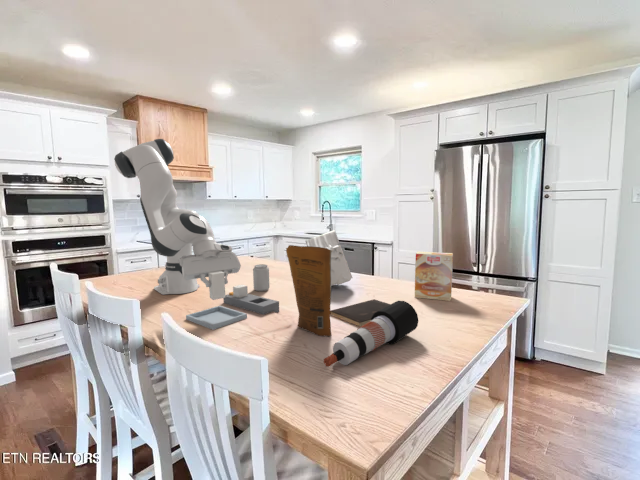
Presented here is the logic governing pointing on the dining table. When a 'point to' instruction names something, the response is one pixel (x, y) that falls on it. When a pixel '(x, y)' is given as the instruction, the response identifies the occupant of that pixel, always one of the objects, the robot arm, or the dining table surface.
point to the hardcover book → (359, 312)
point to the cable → (375, 333)
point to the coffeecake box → (433, 275)
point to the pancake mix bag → (312, 287)
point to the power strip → (250, 301)
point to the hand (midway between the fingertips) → (217, 284)
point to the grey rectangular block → (217, 285)
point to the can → (261, 277)
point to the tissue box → (333, 256)
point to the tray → (216, 317)
